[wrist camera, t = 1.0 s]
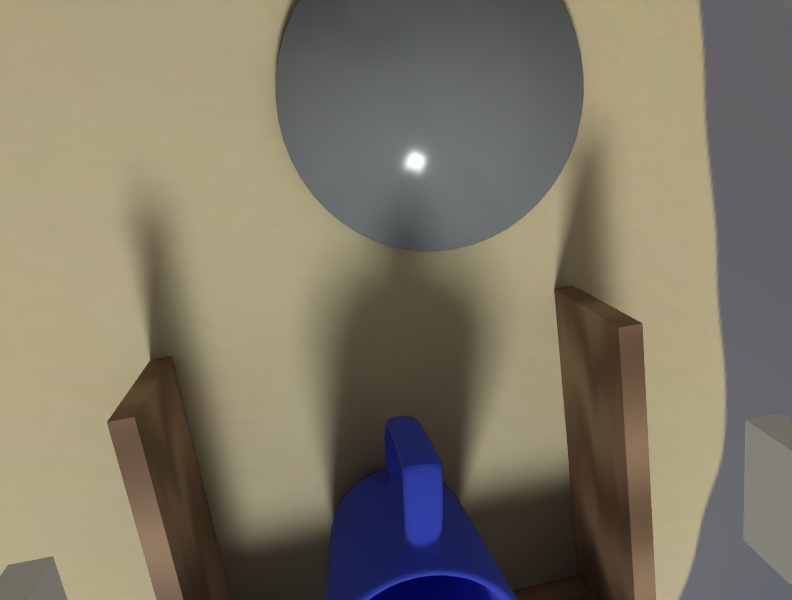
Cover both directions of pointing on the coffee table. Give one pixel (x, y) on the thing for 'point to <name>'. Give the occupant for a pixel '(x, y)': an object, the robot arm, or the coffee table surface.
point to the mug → (409, 532)
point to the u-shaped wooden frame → (587, 449)
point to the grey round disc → (429, 112)
